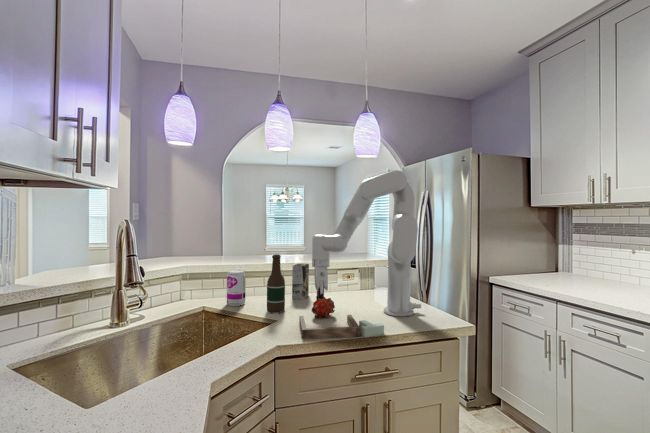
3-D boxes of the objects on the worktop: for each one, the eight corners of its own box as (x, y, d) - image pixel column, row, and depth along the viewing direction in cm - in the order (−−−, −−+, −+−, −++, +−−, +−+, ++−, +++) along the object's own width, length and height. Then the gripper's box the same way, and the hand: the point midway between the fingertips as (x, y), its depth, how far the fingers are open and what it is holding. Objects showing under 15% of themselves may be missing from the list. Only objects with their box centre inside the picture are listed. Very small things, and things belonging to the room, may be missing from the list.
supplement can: (235, 307, 155) (236, 273, 155) (222, 304, 160) (223, 271, 159) (249, 303, 162) (249, 270, 162) (236, 300, 166) (236, 269, 166)
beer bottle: (288, 309, 153) (289, 254, 153) (278, 314, 146) (279, 256, 146) (273, 307, 156) (273, 253, 156) (262, 311, 149) (263, 255, 149)
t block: (370, 326, 132) (371, 319, 132) (383, 333, 125) (384, 325, 125) (352, 330, 129) (352, 321, 129) (365, 337, 122) (365, 328, 121)
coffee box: (304, 299, 171) (304, 266, 170) (291, 298, 172) (292, 265, 172) (309, 295, 180) (309, 263, 179) (296, 294, 181) (297, 262, 180)
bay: (350, 322, 137) (351, 314, 137) (360, 336, 122) (360, 328, 122) (299, 323, 135) (299, 315, 135) (302, 338, 119) (302, 329, 119)
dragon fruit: (335, 317, 148) (314, 328, 140) (323, 302, 153) (302, 312, 144) (343, 304, 144) (321, 314, 136) (329, 289, 148) (308, 298, 140)
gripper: (331, 265, 146) (331, 310, 146) (327, 260, 161) (326, 300, 161) (313, 266, 145) (313, 310, 145) (310, 260, 160) (310, 301, 160)
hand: (320, 305), depth 153 cm, fingers closed
